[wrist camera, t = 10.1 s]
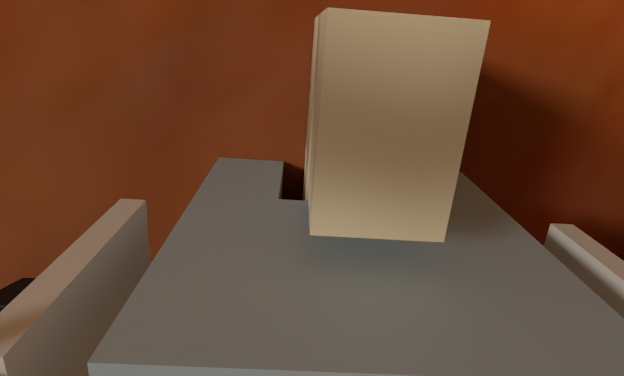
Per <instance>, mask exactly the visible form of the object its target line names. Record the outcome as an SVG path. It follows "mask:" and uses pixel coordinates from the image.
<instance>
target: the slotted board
mask: <svg viewBox="0 0 624 376" xmlns="http://www.w3.org/2000/svg"><path fill="white" fill-rule="evenodd" d="M490 22H491V21H489V20H477V19H465V18H452V17H440V16H427V15H415V14H402V13H390V12H378V11H365V10H353V9H340V8H327V9H325V10H324V11H323V12H322V13H320V14H319V15H318V16H317V17H315V24H314V38H313V52H312V67H311V81H310V96H309V110H308V124H307V139H306V153H305V168H304V182H303V196H302V201H309V228H310V235H315V236H334V237H352V238H371V239H389V240H407V241H426V242H444V240H445V235H446V230H447V225H448V221H449V216H450V211H451V207H452V202H453V197H454V192H455V188H456V183H457V178H458V173H459V169H460V164H461V159H462V155H463V150H464V145H465V140H466V136H467V131H468V126H469V122H470V117H471V112H472V107H473V103H474V98H475V93H476V88H477V84H478V79H479V74H480V70H481V65H482V60H483V55H484V51H485V46H486V41H487V37H488V32H489V27H490Z"/></svg>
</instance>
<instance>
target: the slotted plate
mask: <svg viewBox="0 0 624 376" xmlns="http://www.w3.org/2000/svg"><path fill="white" fill-rule="evenodd" d="M283 162H284V161H271V160H255V159H239V158H223V157H219V158H218V160H217V162H216V163H215V165H214V166H213V168H212V169H211V171H210V172H209V174H208V176H207V177H206V179H205V180H204V182H203V183H202V185H201V186H200V188H199V190H198V191H197V193H196V194H195V196H194V197H193V199H192V200H191V202H190V204H189V205H188V207H187V208H186V210H185V211H184V213H183V214H182V216H181V218H180V219H179V221H178V222H177V224H176V225H175V227H174V228H173V230H172V232H171V233H170V235H169V236H168V238H167V239H166V241H165V242H164V244H163V246H162V247H161V249H160V250H159V252H158V253H157V255H156V256H155V258H154V259H153V261H152V263H151V264H150V266H149V267H148V269H147V270H146V272H145V273H144V275H143V277H142V278H141V280H140V281H139V283H138V284H137V286H136V287H135V289H134V291H133V292H132V294H131V295H130V297H129V298H128V300H127V301H126V303H125V305H124V306H123V308H122V309H121V311H120V312H119V314H118V315H117V317H116V319H115V320H114V322H113V323H112V325H111V326H110V328H109V329H108V331H107V333H106V334H105V336H104V337H103V339H102V340H101V342H100V343H99V345H98V347H97V348H96V350H95V351H94V353H93V354H92V356H91V357H90V359H89V361H88V362H87V365H88V372H89V376H624V318H623V317H621V316H620V315H619V314H618V313H617V312H616V311H615V310H614V309H613V308H611V307H610V306H609V305H608V304H607V303H606V302H605V301H604V300H603V299H601V298H600V297H599V296H598V295H597V294H596V293H595V292H594V291H593V290H591V289H590V288H589V287H588V286H587V285H586V284H585V283H584V282H583V281H581V280H580V279H579V278H578V277H577V276H576V275H575V274H574V273H573V272H571V271H570V270H569V269H568V268H567V267H566V266H565V265H564V264H563V263H562V262H560V261H559V260H558V259H557V258H556V257H555V256H554V255H553V254H552V253H550V252H549V251H548V250H547V249H546V248H545V247H544V246H543V245H542V244H540V243H539V242H538V241H537V240H536V239H535V238H534V237H533V236H532V235H530V234H529V233H528V232H527V231H526V230H525V229H524V228H523V227H522V226H520V225H519V224H518V223H517V222H516V221H515V220H514V219H513V218H512V217H510V216H509V215H508V214H507V213H506V212H505V211H504V210H503V209H502V208H501V207H499V206H498V205H497V204H496V203H495V202H494V201H493V200H492V199H491V198H489V197H488V196H487V195H486V194H485V193H484V192H483V191H482V190H481V189H479V188H478V187H477V186H476V185H475V184H474V183H473V182H472V181H471V180H469V179H468V178H467V177H466V176H465V175H464V174H463V173H462V172H459V173H458V178H457V183H456V188H455V192H454V197H453V202H452V207H451V211H450V216H449V221H448V225H447V230H446V235H445V240H444V242H426V241H407V240H389V239H371V238H352V237H334V236H315V235H310V228H309V201H302V200H284V199H282V182H283Z"/></svg>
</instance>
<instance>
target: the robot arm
mask: <svg viewBox="0 0 624 376" xmlns="http://www.w3.org/2000/svg"><path fill="white" fill-rule="evenodd" d="M544 247H545V248H546V249H547V250H548V251H549V252H550V253H552V254H553V255H554V256H555V257H556V258H557V259H558V260H559V261H560V262H562V263H563V264H564V265H565V266H566V267H567V268H568V269H569V270H570V271H571V272H573V273H574V274H575V275H576V276H577V277H578V278H579V279H580V280H581V281H583V282H584V283H585V284H586V285H587V286H588V287H589V288H590V289H591V290H593V291H594V292H595V293H596V294H597V295H598V296H599V297H600V298H601V299H603V300H604V301H605V302H606V303H607V304H608V305H609V306H610V307H611V308H613V309H614V310H615V311H616V312H617V313H618V314H619V315H620V316H621V317H623V318H624V261H623V260H621V259H620V258H619V257H617V256H616V255H615V254H613V253H612V252H610V251H609V250H608V249H606V248H605V247H603V246H602V245H601V244H599V243H598V242H597V241H595V240H594V239H592V238H591V237H590V236H588V235H587V234H586V233H584V232H583V231H581V230H580V229H579V228H577V227H576V226H574V225H573V224H555V223H551V224H550V227H549V230H548V233H547V236H546V240H545V243H544ZM150 264H151V263H150V250H149V237H148V224H147V212H146V200H135V199H120V200H119V201H118V202H117V203H116V204H115V205H113V206H112V207H111V208H110V209H109V210H108V211H107V212H106V213H105V214H104V215H103V216H102V217H101V218H100V219H99V220H98V221H96V222H95V223H94V224H93V225H92V226H91V227H90V228H89V229H88V230H87V231H86V232H85V233H84V234H83V235H82V236H81V237H79V238H78V239H77V240H76V241H75V242H74V243H73V244H72V245H71V246H70V247H69V248H68V249H67V250H66V251H65V252H63V253H62V254H61V255H60V256H59V257H58V258H57V259H56V260H55V261H54V262H53V263H52V264H51V265H50V266H49V267H48V268H46V269H45V270H44V271H43V272H42V273H41V274H40V275H39V276H38V277H37V278H22V279H20V280H18V281H16V282H14V283H12V284H10V285H8V286H6V287H5V288H3V289H1V290H0V376H89V372H88V365H87V362H88V361H89V359H90V357H91V356H92V354H93V353H94V351H95V350H96V348H97V347H98V345H99V343H100V342H101V340H102V339H103V337H104V336H105V334H106V333H107V331H108V329H109V328H110V326H111V325H112V323H113V322H114V320H115V319H116V317H117V315H118V314H119V312H120V311H121V309H122V308H123V306H124V305H125V303H126V301H127V300H128V298H129V297H130V295H131V294H132V292H133V291H134V289H135V287H136V286H137V284H138V283H139V281H140V280H141V278H142V277H143V275H144V273H145V272H146V270H147V269H148V267H149V266H150Z"/></svg>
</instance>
